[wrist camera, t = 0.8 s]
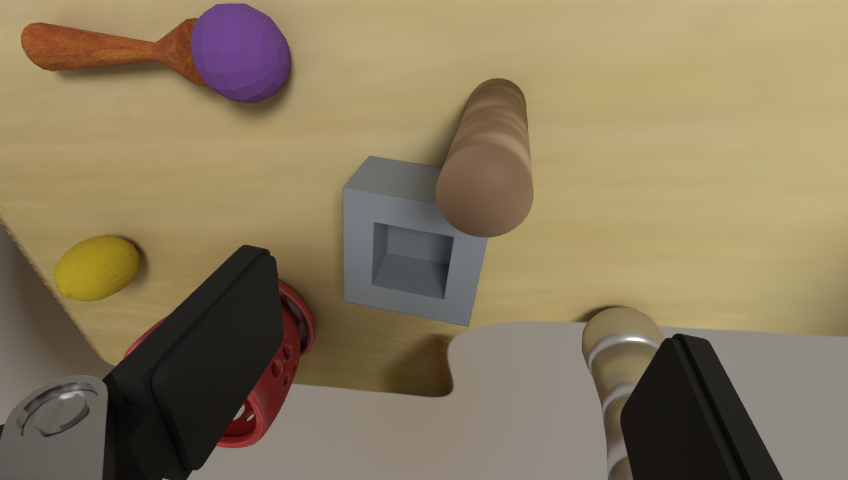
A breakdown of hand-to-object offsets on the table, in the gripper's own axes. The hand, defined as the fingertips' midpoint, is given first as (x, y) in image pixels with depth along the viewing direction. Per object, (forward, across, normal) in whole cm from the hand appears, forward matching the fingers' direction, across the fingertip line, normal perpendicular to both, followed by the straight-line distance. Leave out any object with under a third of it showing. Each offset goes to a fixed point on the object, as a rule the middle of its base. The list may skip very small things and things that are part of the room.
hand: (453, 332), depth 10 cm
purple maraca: (+23, +24, -1) cm, 33 cm away
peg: (+22, 0, 0) cm, 22 cm away
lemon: (+22, +34, +19) cm, 45 cm away
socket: (+22, +4, +10) cm, 25 cm away
